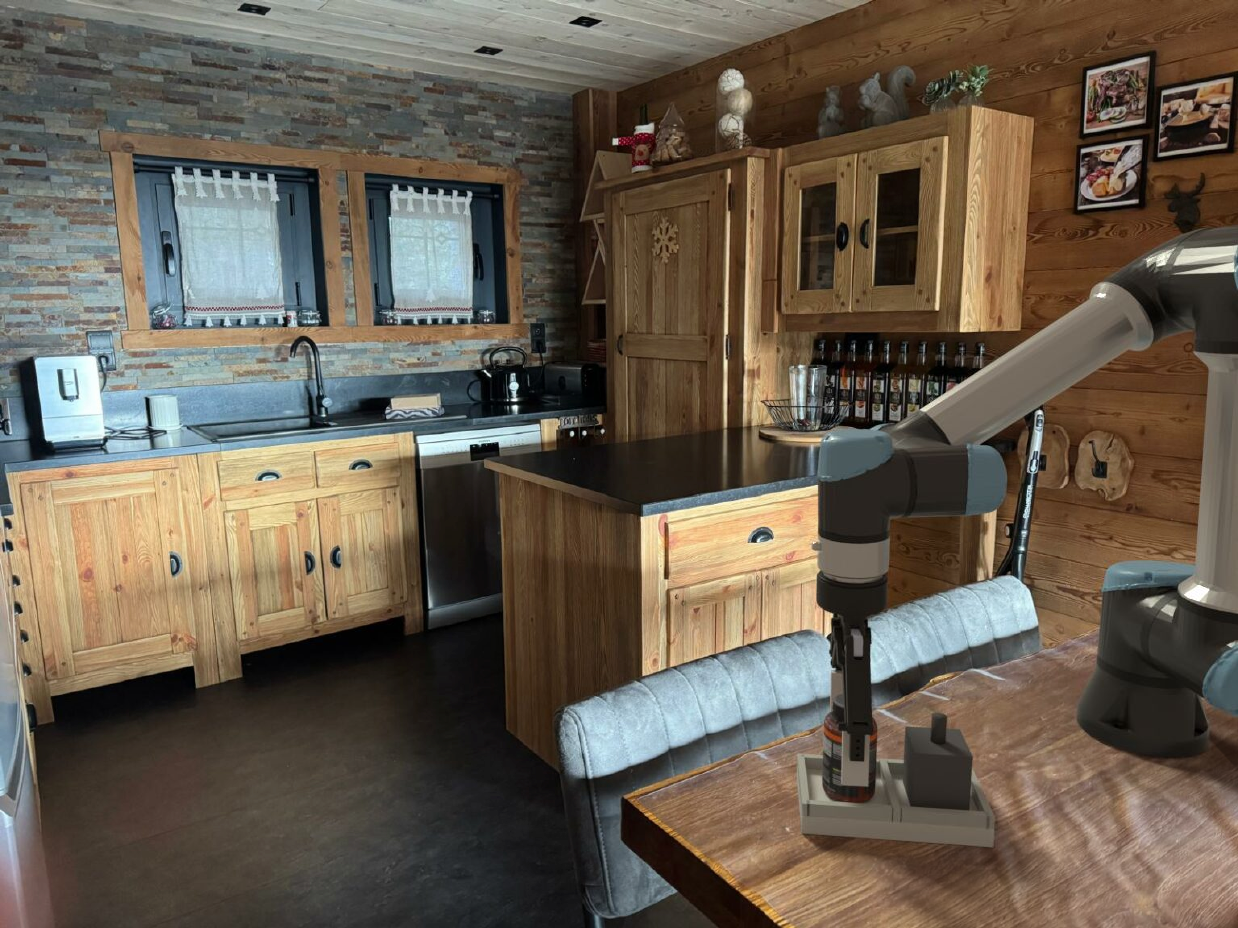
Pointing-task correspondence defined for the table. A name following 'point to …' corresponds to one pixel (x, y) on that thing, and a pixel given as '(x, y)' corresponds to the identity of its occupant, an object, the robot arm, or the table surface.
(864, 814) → the free socket
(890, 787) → the two-section tray
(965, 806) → the single-knob plug
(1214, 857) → the table surface
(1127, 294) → the robot arm
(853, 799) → the supplement bottle
